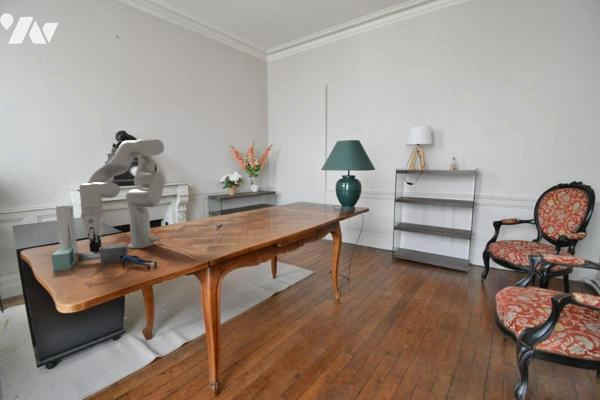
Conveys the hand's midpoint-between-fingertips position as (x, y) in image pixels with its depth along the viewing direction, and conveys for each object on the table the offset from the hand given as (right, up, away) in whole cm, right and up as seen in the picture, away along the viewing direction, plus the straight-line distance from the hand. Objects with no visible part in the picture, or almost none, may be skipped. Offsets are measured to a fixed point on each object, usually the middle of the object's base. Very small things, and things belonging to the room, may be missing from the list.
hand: (95, 249), depth 127 cm
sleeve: (+6, -6, +4) cm, 10 cm away
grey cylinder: (-23, -5, +13) cm, 27 cm away
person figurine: (+22, -8, -4) cm, 23 cm away
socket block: (-10, -7, -5) cm, 13 cm away
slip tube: (+2, -5, +2) cm, 5 cm away
